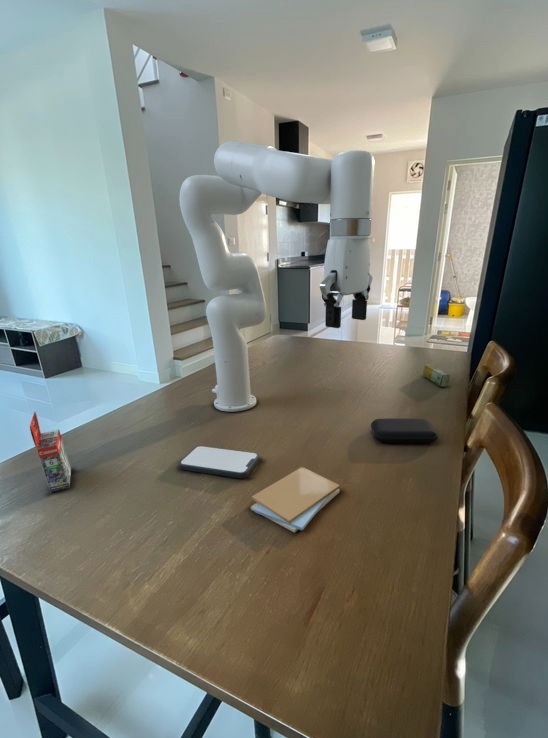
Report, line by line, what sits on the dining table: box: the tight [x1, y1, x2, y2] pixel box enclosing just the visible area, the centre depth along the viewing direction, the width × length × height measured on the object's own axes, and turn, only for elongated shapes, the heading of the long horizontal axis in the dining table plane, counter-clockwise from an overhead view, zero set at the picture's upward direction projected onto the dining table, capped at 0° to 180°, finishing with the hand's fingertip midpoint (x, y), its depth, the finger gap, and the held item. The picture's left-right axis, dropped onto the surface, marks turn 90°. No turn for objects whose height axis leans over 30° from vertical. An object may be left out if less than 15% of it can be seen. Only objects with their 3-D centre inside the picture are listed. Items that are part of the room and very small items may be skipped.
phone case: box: [178, 445, 261, 479], centre depth 83 cm, size 9×2×16 cm
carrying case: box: [370, 417, 439, 444], centre depth 93 cm, size 11×3×15 cm
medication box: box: [421, 363, 451, 388], centre depth 127 cm, size 12×3×4 cm, turn 10°
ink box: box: [29, 411, 72, 493], centre depth 76 cm, size 4×8×15 cm, turn 26°
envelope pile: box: [250, 466, 341, 534], centre depth 70 cm, size 12×15×2 cm
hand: (346, 323), depth 77 cm, fingers open, 9 cm apart
